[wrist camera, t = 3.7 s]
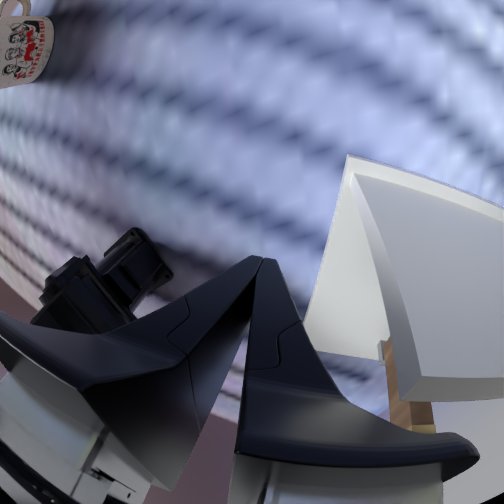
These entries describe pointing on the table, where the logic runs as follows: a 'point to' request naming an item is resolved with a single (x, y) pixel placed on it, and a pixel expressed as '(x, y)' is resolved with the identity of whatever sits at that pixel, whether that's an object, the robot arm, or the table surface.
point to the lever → (405, 402)
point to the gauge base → (414, 283)
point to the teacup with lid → (23, 46)
